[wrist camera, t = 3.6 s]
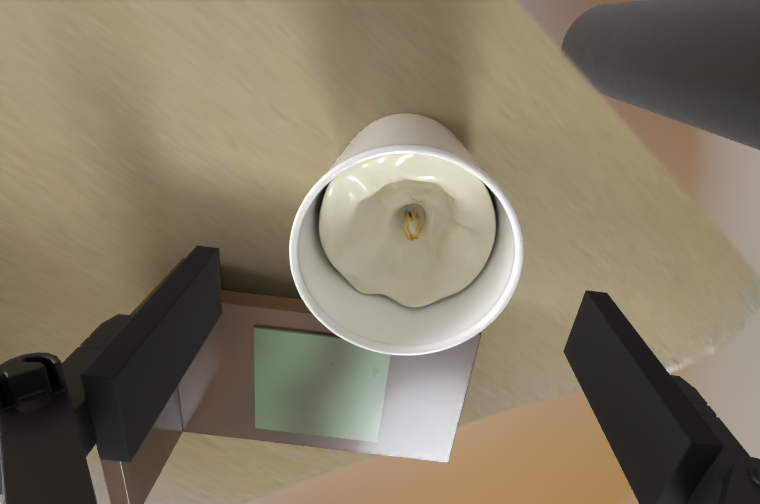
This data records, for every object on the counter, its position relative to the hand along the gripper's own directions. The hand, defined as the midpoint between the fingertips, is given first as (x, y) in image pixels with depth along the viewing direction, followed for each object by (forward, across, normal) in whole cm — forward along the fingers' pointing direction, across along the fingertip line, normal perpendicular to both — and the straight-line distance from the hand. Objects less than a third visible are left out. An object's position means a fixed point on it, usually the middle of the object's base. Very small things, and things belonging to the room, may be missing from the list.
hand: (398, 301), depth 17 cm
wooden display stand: (+15, -4, -14) cm, 21 cm away
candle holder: (+15, 0, 0) cm, 15 cm away
